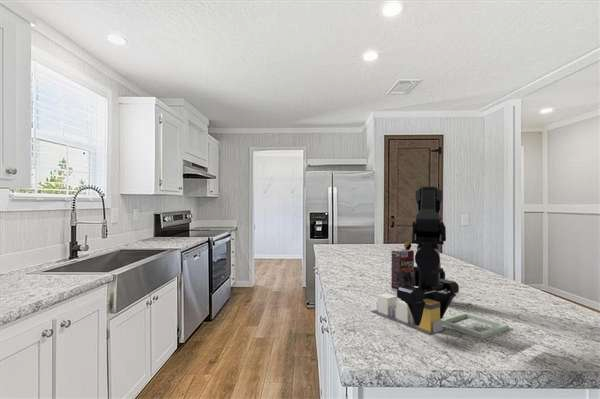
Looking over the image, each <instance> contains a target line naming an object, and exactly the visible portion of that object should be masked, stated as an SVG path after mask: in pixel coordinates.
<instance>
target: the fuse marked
mask: <svg viewBox="0 0 600 399" xmlns="http://www.w3.org/2000/svg"><path fill="white" fill-rule="evenodd" d="M423 301H424V302H425V306H424V310H423V315H422V319H421V323H420V325H419V326H418V327H420V328H422V329H425V330H427V331H430V332H431V331H433V322H434V321H438V320H440V302H437V301H434V300H430V299H424V300H423Z"/></svg>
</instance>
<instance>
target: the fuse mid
mask: <svg viewBox="0 0 600 399" xmlns="http://www.w3.org/2000/svg"><path fill="white" fill-rule="evenodd" d="M396 309H397V319H399V320H401V321H404V322H407V323H409V322H410V314H411V311H410V309H409V307H408V305H407V304H406V302H405V301H402V300H401V299H400V300H397V301H396Z"/></svg>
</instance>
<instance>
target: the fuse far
mask: <svg viewBox="0 0 600 399" xmlns="http://www.w3.org/2000/svg"><path fill="white" fill-rule="evenodd" d="M396 301H398V298H397V295H393V294H390V293H383V294H378V295H377V302H378V312H380V313H383V314H386V315H390V309H389V307H391V306H395V305H396Z"/></svg>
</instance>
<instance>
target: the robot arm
mask: <svg viewBox="0 0 600 399" xmlns="http://www.w3.org/2000/svg"><path fill="white" fill-rule="evenodd" d="M414 197H415V200H414V202H415V205H417V210H418V213H416V214H415V220H414V221H413V220H412V231H411V233H412V237H411V244H417V246H416V253H415V254H414V263H415V265H416V266H414V268H413V272H411V273H406V272H405V271H399V272H397V276H396V278H397V282H398V283H401V284H402V286H403V287H399V288H398V289H397V291H396V296H397V299H400V300H402V301H405V302H406V304H407V305H408V307H409V309H410V311H411V314H412V317H413V319H414V322H415V325H417V326H419V325H420V323H421V319H422V315H423V310H424V306H425V302H424V301H423V300H424V299H430V300H434V301H437V302H440V319H442V318H444V315H445V314H446V311H447V309H448V308H449V306H450V304H451V302H452V301H453V299H454V298H455V297H456V296H457V294H459V293H460V286H459V284H458V283H457V281H454V280H449V279H446V272H445V271H444V268H443V267H441V266H442V265H441V264H442V263H441V256H440V252H441V251H440V250H441V249H440V246H439V245H444V242H446V241H447V233H446V232H447V230H446V225H445V223H444V221H441V214H439V213H440V211H441V205H443V198H444V197H443V190H442V189H439V188H438V187H437V186H435V185H434V186H433V185H432V186H431V185H430V186H428V185H426V186H422V187H420V188H419V189H417V190H415V195H414ZM407 284H409V285H411V284H412V286H414V287H412V286H405V285H407Z"/></svg>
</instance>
